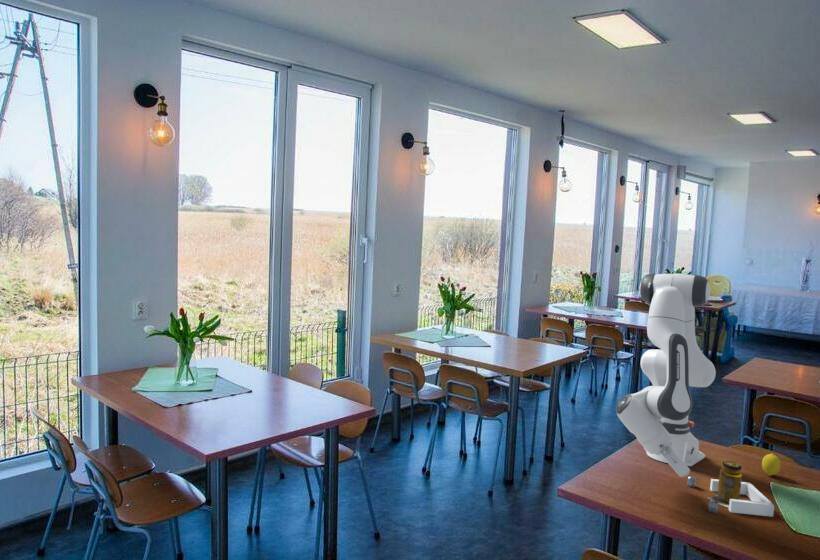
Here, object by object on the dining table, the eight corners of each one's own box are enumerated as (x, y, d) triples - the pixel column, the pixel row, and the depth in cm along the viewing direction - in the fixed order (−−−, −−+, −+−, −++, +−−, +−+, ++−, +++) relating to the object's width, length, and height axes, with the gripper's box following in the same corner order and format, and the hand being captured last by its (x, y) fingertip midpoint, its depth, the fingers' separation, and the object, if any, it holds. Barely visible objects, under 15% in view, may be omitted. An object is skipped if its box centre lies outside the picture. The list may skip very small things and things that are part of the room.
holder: (730, 512, 180) (731, 501, 179) (709, 489, 196) (711, 478, 195) (773, 516, 179) (774, 505, 178) (748, 493, 194) (749, 482, 194)
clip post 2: (710, 509, 181) (712, 499, 181) (718, 512, 179) (719, 502, 179) (706, 510, 180) (707, 501, 179) (714, 514, 178) (715, 504, 177)
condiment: (744, 503, 187) (749, 465, 186) (730, 509, 182) (734, 470, 181) (721, 493, 193) (725, 457, 192) (706, 499, 188) (711, 462, 187)
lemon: (774, 473, 213) (776, 451, 212) (782, 479, 207) (784, 457, 207) (757, 471, 213) (760, 449, 213) (765, 478, 208) (768, 455, 207)
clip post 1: (689, 483, 199) (690, 475, 199) (696, 486, 197) (697, 477, 197) (685, 485, 197) (686, 476, 197) (692, 488, 195) (693, 479, 195)
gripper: (675, 446, 178) (706, 481, 178) (655, 423, 198) (683, 454, 198) (658, 459, 178) (689, 494, 178) (639, 435, 199) (667, 466, 199)
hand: (685, 473), depth 188 cm, fingers closed
